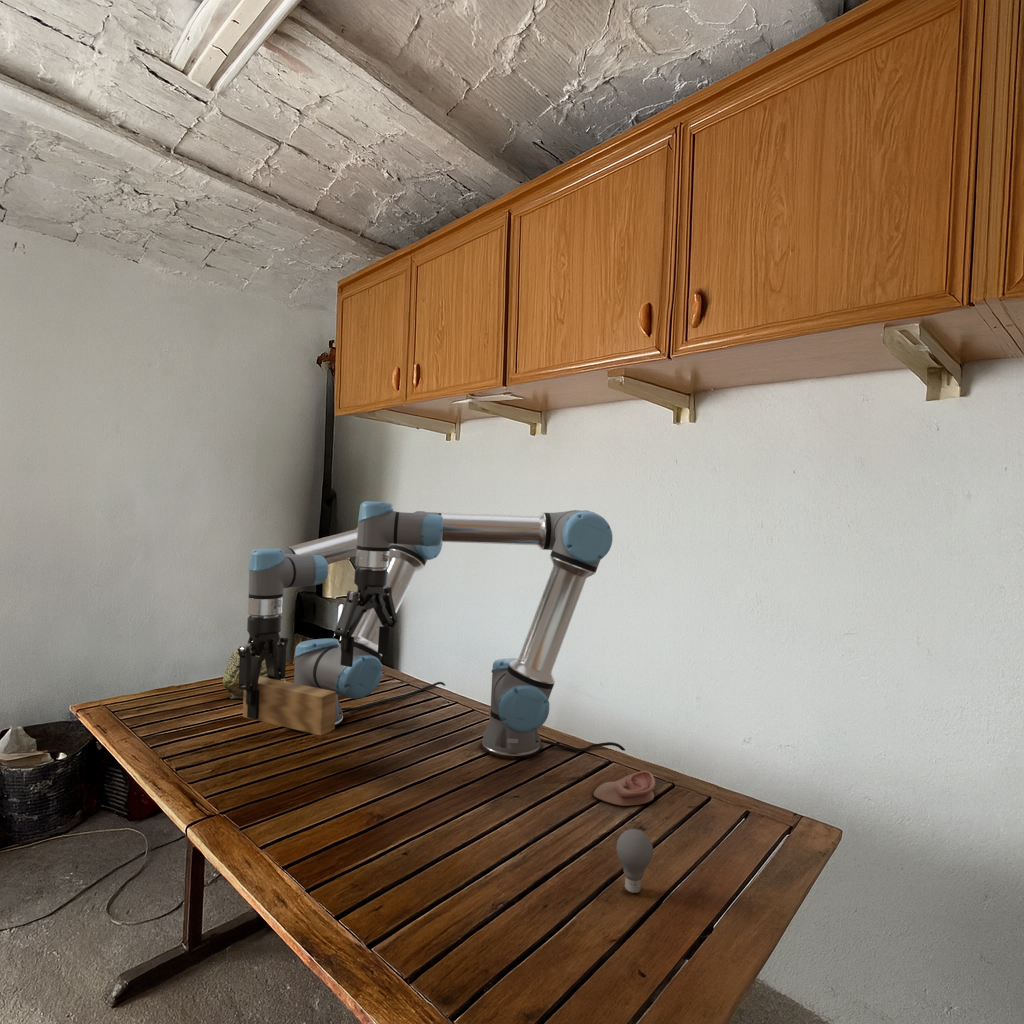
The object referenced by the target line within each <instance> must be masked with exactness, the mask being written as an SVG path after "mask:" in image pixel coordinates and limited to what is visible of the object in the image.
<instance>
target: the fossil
mask: <svg viewBox="0 0 1024 1024" xmlns="http://www.w3.org/2000/svg"><path fill="white" fill-rule="evenodd" d="M257 657H259V656H257ZM279 673H280V672H279ZM222 676H223V677H222V685H223V687H224V688H225V690H226V691H228V693H229V698H230V699H243V694H244V690H242V689H239V653H238V647H237V648H236V649H235V650H233V651H232V653H231V656H230V657H229V659H228V660H227V663H226V666H225V668H224V671H223V675H222ZM259 676H260V677H265V678H268V676H267V669H266V662H265V659H264V661H262V665H261V670H260V675H259ZM281 680H282V681H285V682H287V680H286V677H285V678H284V679H281Z"/></svg>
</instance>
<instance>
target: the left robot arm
mask: <svg viewBox="0 0 1024 1024" xmlns="http://www.w3.org/2000/svg"><path fill="white" fill-rule="evenodd" d="M357 533H358V526H357V527H356V528H355V529H353V530H352V529H351V530H348V531H344V532H340V533H337V534H333V535H329V536H324V537H321V538H317V539H313V540H310V541H306V542H302V543H298V544H294V545H290V546H286V547H282V548H271V547H270V548H264V547H263V548H255V549H253V550H251V552H250V555H249V564H248V598H247V601H248V602H247V614H248V615H249V616H248V617H247V620H246V621H247V624H246V631H247V633H248V635H249V637H248V640H247V643H246V644H244V645H243V646H238V647H237V648H238V653H239V689H242V690H246V704H247V705H248V707H247V717H248V718H247V719H249V718H252V719H251V720H253V719H258V717H259V690H256V689H257V685H258V680H259V675H260V670H261V665H262V661H264V659H265V662H266V669H267V676H268V678H270V679H275V680H280V681H282V680H281V679H284V678H285V679H286V668H287V667H286V666H287V647H288V644H289V638H288V637H285V636H281V635H280V632H281V631H282V628H283V616H282V615H281V614H282V613H283V597H284V589H288V588H298V587H313V586H317V585H321V584H323V583H325V582H326V581H327V578H328V577H329V565H331V564H334V563H338V562H341V561H344V560H348V559H352V558H356V549H357ZM443 544H444V542H442V543H441V545H440V546H428V547H426V546H419V545H406V544H390V550H389V564H388V567H387V568H386V570H387V571H388V581H387V585H386V587H391V588H392V599H393V603H394V608H395V612H396V614H397V613H398V611H399V609H400V607H401V605H402V603H403V600H404V598H405V596H406V593H407V591H408V590H409V588H410V585H411V583H412V581H413V579H414V577H415V575H416V573H417V572H419V571H423V569H424V568H425V566H426V565H427V562H428V561H432V560H434V559H436V558H437V557H438V556H439V555H440V554H441V552H442V548H443ZM391 618H392V617H391ZM380 626H383V625H382V624H381V622H380V620H379V618H378V616H377V614H376V612H375V610H374V608H372V609H369V610H367V612H365V613H364V614H363V616H362V618H361V620H360V622H359V623H358V625H357V627H356V629H355V631H354V633H353V635H352V636H351V637H354V650H353V665H352V667H348V666H343V665H340V664H341V642H340V641H339V639H337V638H331V637H329V638H317V639H316V638H315V639H308V640H304V641H300V642H299V643H298V644H297V645H296V646H295V650H294V651H295V652H294V655H293V658H294V672H293V673H294V674H293V683H295V684H300V685H305V686H310V687H315V688H320V689H325V690H330V691H335V692H336V705H335V728H337V727H339V726H340V725H342V723H343V722H344V714H343V711H344V712H345V711H357V710H362V709H368V708H370V707H374V706H377V705H380V704H385V703H389V702H393V701H397V700H400V699H403V698H407V697H410V696H413V695H414V694H418V693H420V692H423V691H425V690H427V689H431V688H433V687H436V686H438V685H441V686H445V687H446V683H445V682H443V681H437V682H434V683H432V684H429V685H426V686H423V687H421V688H418V689H416V690H414V691H411V692H408V693H406V694H403V695H398V696H395V697H391V698H387V699H383V700H378V701H374V702H372V703H368V704H365V705H360V706H355V707H354V706H353V707H351V706H350V707H342V706H341V702H340V699H339V696H341V697H342V698H345V699H351V700H362V699H365V698H367V697H368V696H369V695H371V694H372V693H373V692H374V691H375V690H376V689H377V688H378V687H379V685H380V682H381V681H382V677H383V664H382V662H381V659H382V657H383V654H378V640H379V627H380ZM257 656H259V657H257ZM279 672H280V673H279ZM251 684H252V685H251ZM288 729H289V730H291V731H294V732H295V731H296V732H301V733H305V732H304V731H299V730H295V729H291V728H288Z"/></svg>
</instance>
